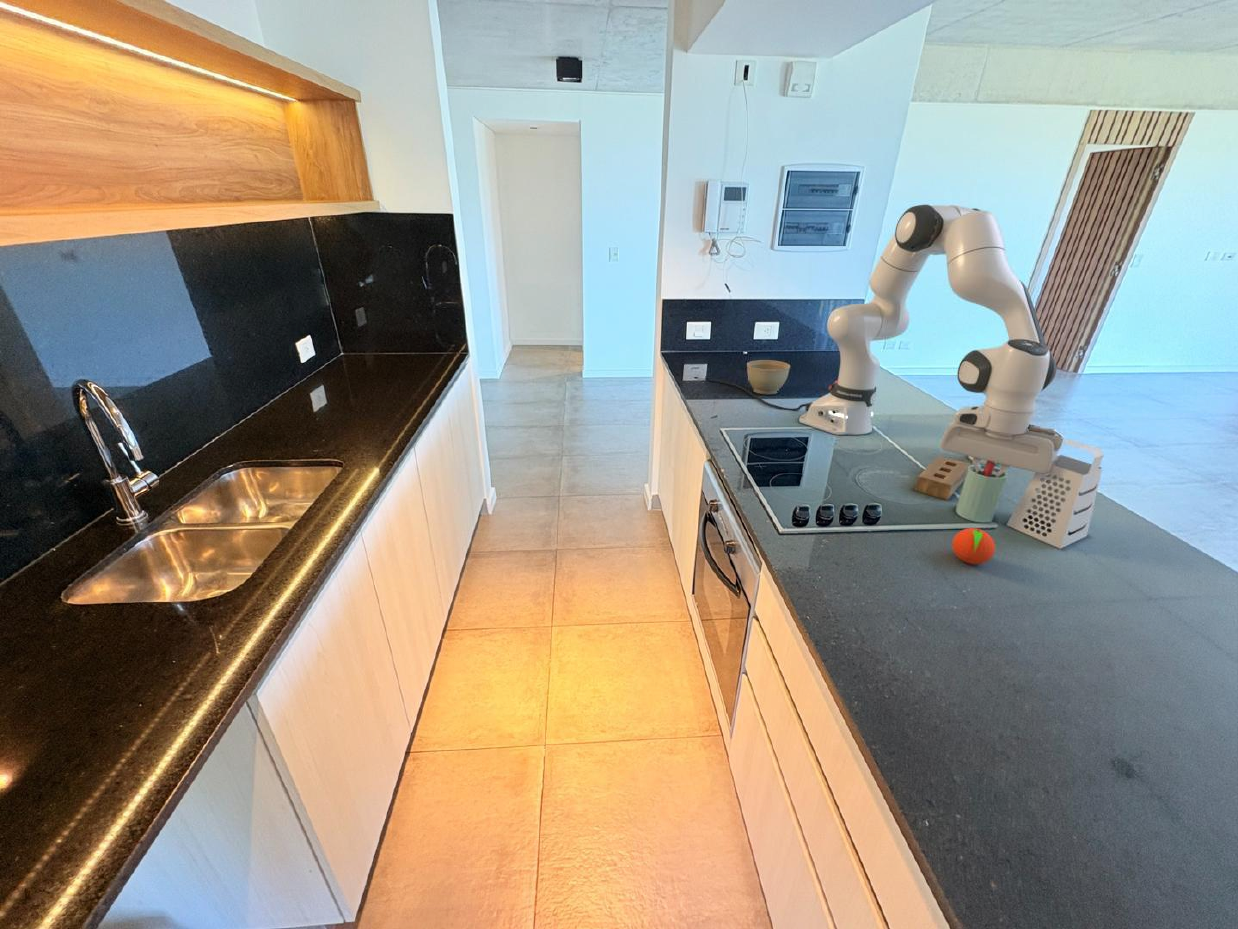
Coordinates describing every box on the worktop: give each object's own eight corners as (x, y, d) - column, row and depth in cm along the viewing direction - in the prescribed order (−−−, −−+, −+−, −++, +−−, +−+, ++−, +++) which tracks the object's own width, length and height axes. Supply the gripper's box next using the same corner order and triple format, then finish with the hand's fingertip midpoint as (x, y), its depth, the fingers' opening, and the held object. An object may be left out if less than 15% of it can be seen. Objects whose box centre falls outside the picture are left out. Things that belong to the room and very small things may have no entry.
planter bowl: (791, 389, 211) (795, 362, 206) (779, 400, 198) (783, 371, 194) (752, 383, 219) (755, 357, 214) (738, 393, 206) (741, 366, 202)
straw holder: (914, 490, 132) (918, 476, 130) (935, 469, 143) (939, 455, 141) (947, 500, 127) (951, 485, 125) (966, 477, 138) (970, 463, 136)
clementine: (989, 578, 99) (1000, 546, 96) (947, 567, 102) (956, 535, 99) (989, 557, 105) (999, 527, 102) (949, 547, 109) (958, 517, 106)
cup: (951, 514, 121) (964, 471, 116) (960, 503, 125) (973, 461, 121) (988, 526, 116) (1003, 481, 111) (995, 514, 121) (1010, 470, 116)
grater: (1060, 548, 108) (1097, 459, 100) (1006, 525, 116) (1036, 441, 108) (1086, 535, 112) (1124, 449, 104) (1032, 514, 121) (1063, 432, 112)
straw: (972, 506, 120) (990, 449, 114) (973, 504, 121) (991, 448, 115) (979, 508, 119) (998, 451, 113) (981, 506, 120) (999, 449, 114)
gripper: (1068, 427, 107) (1045, 488, 112) (955, 405, 119) (939, 461, 125) (1064, 436, 102) (1040, 498, 108) (947, 412, 115) (931, 469, 121)
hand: (985, 478), depth 117 cm, fingers closed on straw, 1 cm apart
